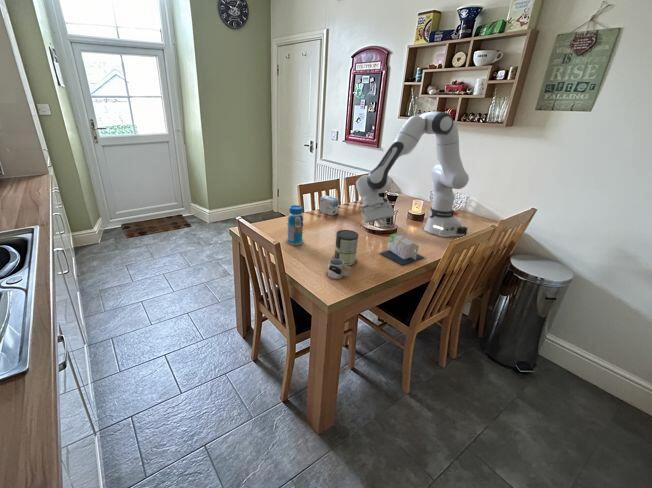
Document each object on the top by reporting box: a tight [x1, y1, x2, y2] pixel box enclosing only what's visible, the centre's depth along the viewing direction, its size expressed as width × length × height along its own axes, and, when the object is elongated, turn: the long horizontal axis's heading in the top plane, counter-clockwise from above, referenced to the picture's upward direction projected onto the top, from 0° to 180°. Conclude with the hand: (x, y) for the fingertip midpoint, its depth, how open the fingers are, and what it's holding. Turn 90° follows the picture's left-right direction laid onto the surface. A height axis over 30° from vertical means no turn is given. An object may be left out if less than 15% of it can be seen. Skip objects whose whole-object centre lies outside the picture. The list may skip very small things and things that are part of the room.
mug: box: [327, 258, 352, 280], centre depth 145 cm, size 10×7×7 cm, turn 69°
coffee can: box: [333, 229, 359, 266], centre depth 157 cm, size 10×10×14 cm
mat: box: [379, 250, 424, 266], centre depth 165 cm, size 14×16×1 cm
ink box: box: [387, 232, 419, 261], centre depth 163 cm, size 9×5×15 cm
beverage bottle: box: [286, 204, 304, 246], centre depth 174 cm, size 8×8×20 cm
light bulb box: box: [319, 195, 340, 217], centre depth 220 cm, size 11×7×11 cm, turn 47°
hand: (384, 226), depth 172 cm, fingers closed
